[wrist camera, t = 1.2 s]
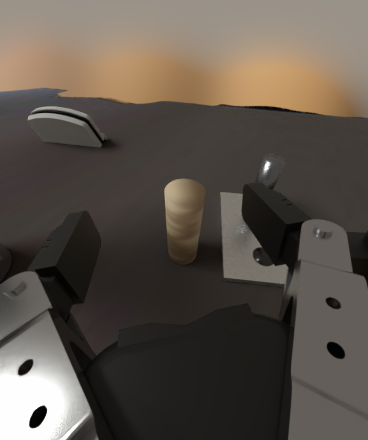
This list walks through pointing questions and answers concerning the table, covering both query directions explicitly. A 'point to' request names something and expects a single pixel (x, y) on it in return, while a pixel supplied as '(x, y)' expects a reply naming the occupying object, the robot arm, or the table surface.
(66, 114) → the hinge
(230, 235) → the bolt plate
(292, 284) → the robot arm
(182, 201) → the oak post
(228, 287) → the table surface
